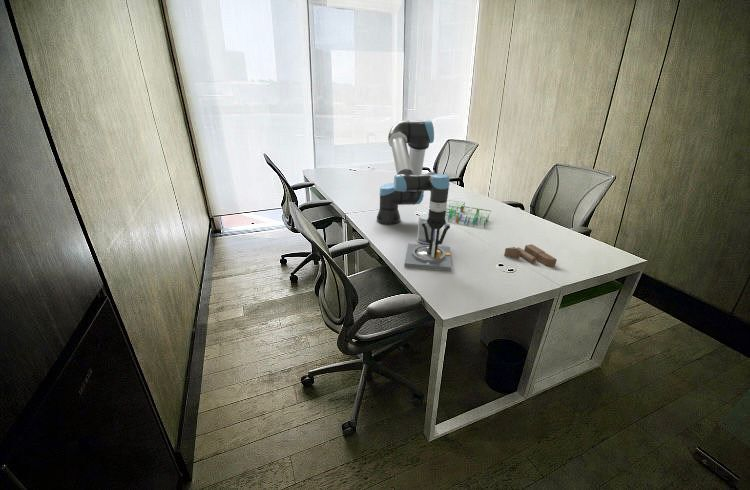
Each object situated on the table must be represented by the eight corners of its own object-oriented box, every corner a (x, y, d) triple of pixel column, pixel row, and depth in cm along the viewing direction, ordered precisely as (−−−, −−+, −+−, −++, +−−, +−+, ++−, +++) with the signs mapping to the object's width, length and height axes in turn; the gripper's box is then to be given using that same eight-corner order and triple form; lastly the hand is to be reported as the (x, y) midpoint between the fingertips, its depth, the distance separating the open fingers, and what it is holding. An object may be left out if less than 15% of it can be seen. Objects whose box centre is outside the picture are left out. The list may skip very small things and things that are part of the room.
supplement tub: (437, 244, 182) (439, 219, 175) (420, 245, 180) (422, 220, 173) (430, 236, 190) (432, 212, 184) (414, 238, 188) (416, 214, 182)
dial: (412, 251, 169) (412, 241, 166) (432, 247, 173) (432, 237, 171) (427, 264, 156) (428, 254, 154) (449, 260, 161) (450, 249, 158)
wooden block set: (531, 241, 173) (558, 257, 158) (529, 251, 176) (555, 267, 160) (504, 245, 168) (529, 262, 153) (502, 255, 171) (527, 272, 156)
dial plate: (404, 266, 159) (404, 260, 158) (408, 246, 179) (408, 241, 177) (450, 271, 156) (451, 264, 154) (449, 250, 175) (450, 244, 174)
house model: (429, 218, 217) (429, 211, 215) (443, 205, 241) (443, 199, 239) (483, 228, 203) (484, 221, 200) (492, 213, 226) (493, 207, 224)
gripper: (422, 211, 146) (418, 258, 156) (452, 213, 144) (446, 260, 154) (423, 205, 153) (419, 250, 163) (452, 207, 151) (446, 253, 161)
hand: (432, 255), depth 159 cm, fingers closed
